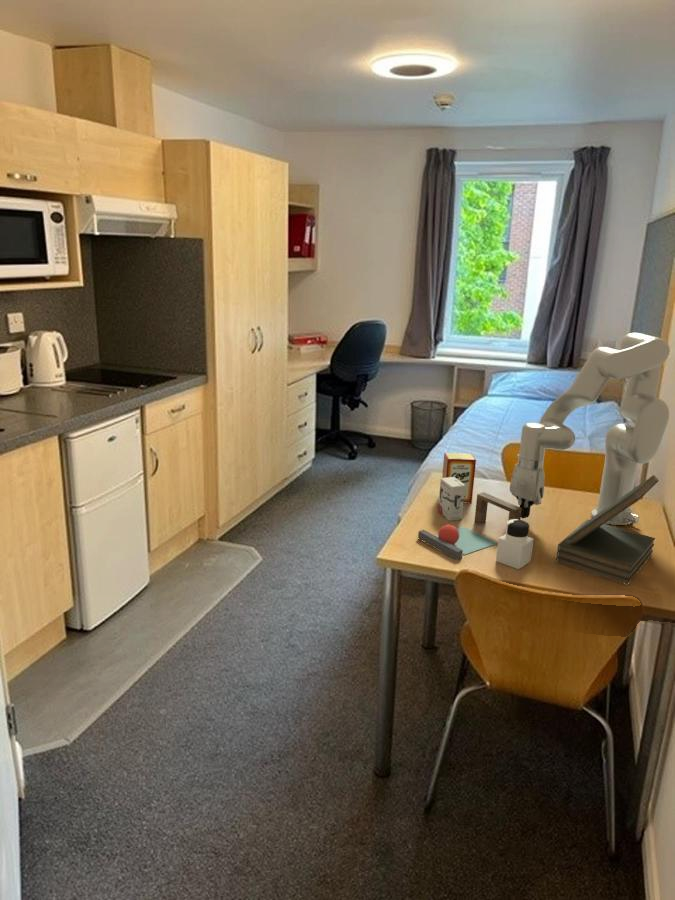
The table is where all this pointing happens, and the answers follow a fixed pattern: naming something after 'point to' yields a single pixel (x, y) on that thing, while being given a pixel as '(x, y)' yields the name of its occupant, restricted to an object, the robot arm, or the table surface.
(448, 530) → the ball
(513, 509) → the bridge
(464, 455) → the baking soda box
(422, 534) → the stopper wall
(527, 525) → the medicine bottle
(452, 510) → the ink box
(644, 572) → the table surface
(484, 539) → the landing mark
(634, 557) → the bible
